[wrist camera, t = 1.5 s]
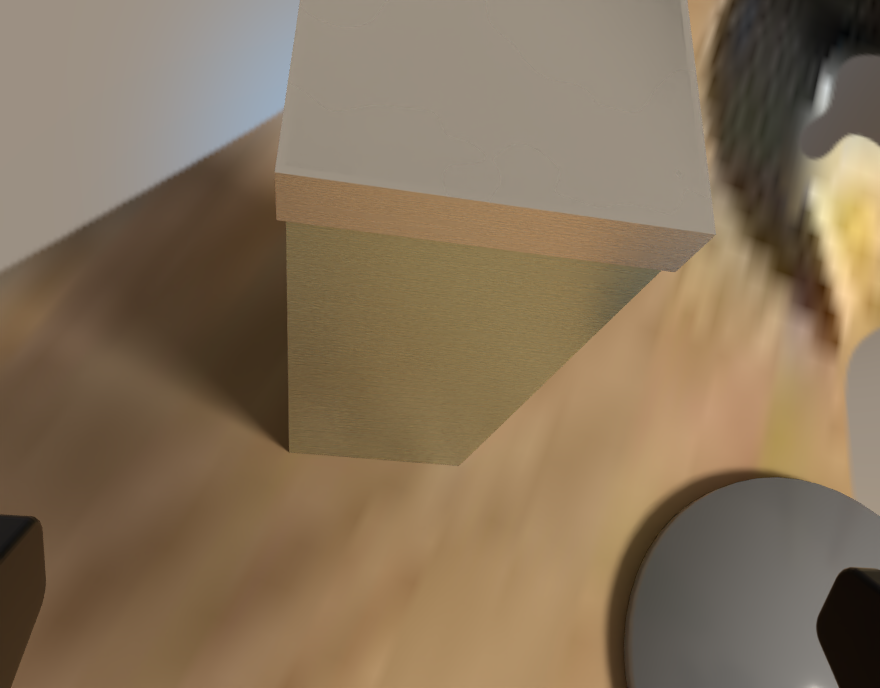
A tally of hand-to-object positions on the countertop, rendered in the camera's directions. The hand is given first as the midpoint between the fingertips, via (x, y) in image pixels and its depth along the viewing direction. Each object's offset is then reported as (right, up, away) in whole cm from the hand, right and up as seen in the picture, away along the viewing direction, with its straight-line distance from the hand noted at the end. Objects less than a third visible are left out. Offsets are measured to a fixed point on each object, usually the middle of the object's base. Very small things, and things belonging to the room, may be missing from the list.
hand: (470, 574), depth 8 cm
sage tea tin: (-2, +1, +14) cm, 14 cm away
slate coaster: (+10, -7, +13) cm, 18 cm away
